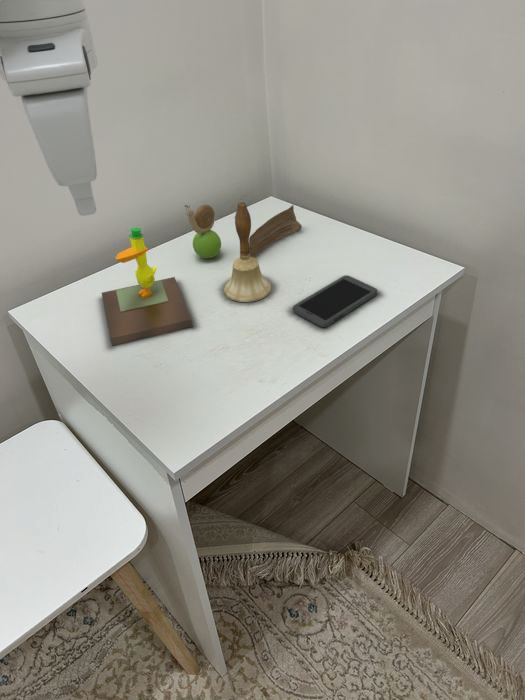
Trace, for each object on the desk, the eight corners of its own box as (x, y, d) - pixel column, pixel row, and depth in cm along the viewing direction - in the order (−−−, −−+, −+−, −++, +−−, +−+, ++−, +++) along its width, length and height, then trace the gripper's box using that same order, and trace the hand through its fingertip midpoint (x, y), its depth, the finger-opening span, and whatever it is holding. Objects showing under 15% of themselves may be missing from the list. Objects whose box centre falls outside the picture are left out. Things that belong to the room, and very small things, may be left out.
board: (112, 345, 85) (109, 337, 84) (103, 299, 96) (101, 291, 95) (192, 326, 88) (191, 318, 87) (175, 283, 99) (174, 276, 98)
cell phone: (379, 293, 92) (379, 289, 92) (323, 329, 85) (323, 325, 85) (346, 277, 97) (346, 274, 96) (290, 310, 90) (290, 307, 89)
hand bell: (248, 272, 100) (241, 188, 90) (281, 287, 96) (277, 201, 85) (214, 291, 96) (203, 205, 86) (246, 308, 91) (238, 220, 81)
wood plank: (256, 261, 103) (254, 237, 100) (247, 258, 104) (245, 234, 101) (301, 228, 112) (300, 206, 109) (292, 226, 113) (292, 203, 110)
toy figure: (133, 306, 91) (116, 242, 83) (122, 298, 93) (105, 234, 85) (167, 291, 94) (154, 227, 86) (156, 283, 96) (142, 220, 88)
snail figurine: (185, 260, 105) (175, 201, 97) (208, 246, 109) (200, 189, 101) (205, 268, 102) (196, 208, 95) (228, 254, 106) (221, 195, 98)
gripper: (12, 36, 57) (52, 167, 66) (4, 79, 42) (57, 241, 50) (73, 29, 58) (105, 158, 67) (87, 68, 43) (125, 228, 52)
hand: (84, 194), depth 59 cm, fingers open, 8 cm apart
